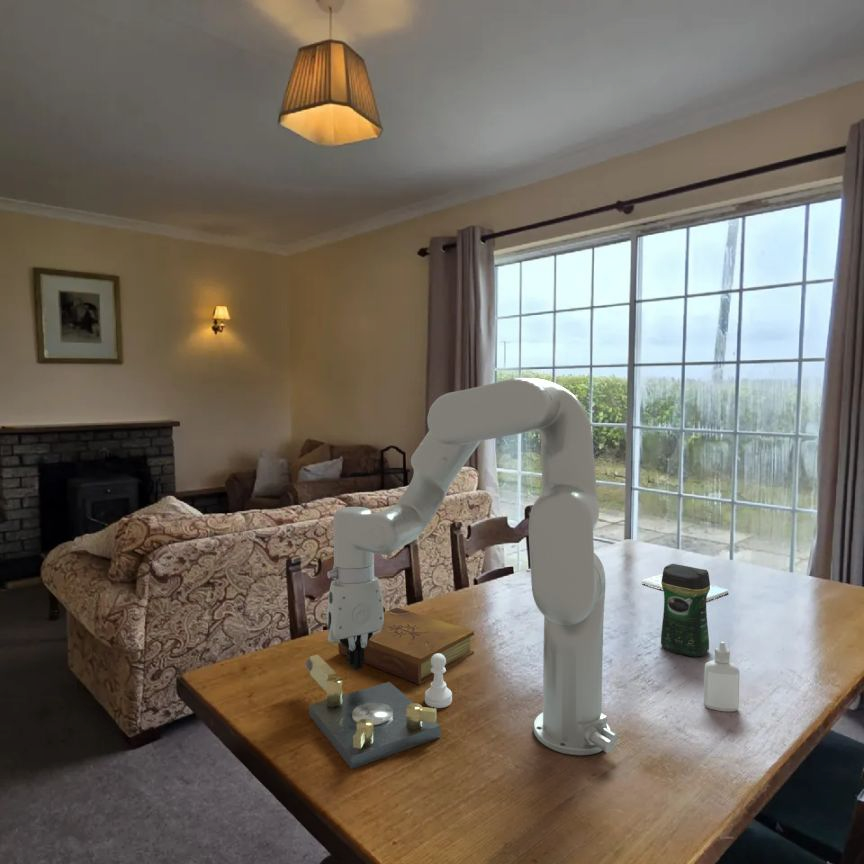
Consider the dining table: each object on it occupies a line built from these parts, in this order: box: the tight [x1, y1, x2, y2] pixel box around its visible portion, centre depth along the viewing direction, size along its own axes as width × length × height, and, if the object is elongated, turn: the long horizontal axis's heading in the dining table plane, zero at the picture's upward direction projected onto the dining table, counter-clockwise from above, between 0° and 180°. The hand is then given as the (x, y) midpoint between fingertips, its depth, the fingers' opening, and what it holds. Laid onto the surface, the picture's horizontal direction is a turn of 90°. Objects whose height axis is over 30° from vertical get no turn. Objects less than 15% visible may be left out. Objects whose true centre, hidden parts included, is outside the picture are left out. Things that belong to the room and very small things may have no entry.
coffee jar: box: [660, 563, 711, 658], centre depth 134 cm, size 10×8×19 cm
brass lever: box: [305, 654, 344, 707], centre depth 112 cm, size 13×3×5 cm, turn 32°
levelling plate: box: [308, 681, 441, 770], centre depth 104 cm, size 18×16×5 cm
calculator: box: [641, 573, 729, 602], centre depth 175 cm, size 13×20×2 cm, turn 35°
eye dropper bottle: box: [703, 641, 740, 713], centre depth 110 cm, size 4×6×12 cm
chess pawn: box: [424, 653, 453, 709], centre depth 112 cm, size 5×5×9 cm
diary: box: [337, 607, 475, 686], centre depth 133 cm, size 23×19×6 cm
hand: (355, 666), depth 117 cm, fingers closed
